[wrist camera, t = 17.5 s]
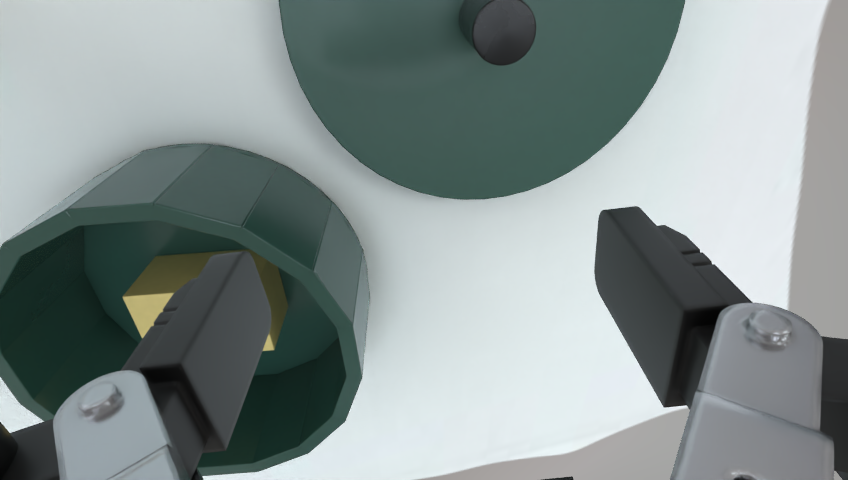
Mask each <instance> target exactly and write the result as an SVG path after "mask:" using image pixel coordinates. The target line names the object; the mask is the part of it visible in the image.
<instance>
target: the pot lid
mask: <svg viewBox="0 0 848 480" xmlns="http://www.w3.org/2000/svg"><path fill="white" fill-rule="evenodd" d="M684 4H685V0H279V6H280V13H281V20H282V28H283V34H284V38H285V42H286V45H287V49H288V53H289V57H290V60H291V63H292V66H293V68H294V71H295V73H296V76H297V78H298V81H299V84H300V86H301V88H302V90H303V92H304V93H305V95H306V97H307V99H308V101H309V103H310V105H311V107H312V108H313V110H314V111H315V113H316V114H317V115H318V117H319V118H320V120H321V121H322V123H323V124H324V125H325V127H326V128H327V130H328V131H329V132H330V133H331V134H332V135H333V136H334V137H335V138H336V140H337V141H338V142H339V143H340V144H341V145H342V146H343V147H344V148H345V149H346V150H347V151H348V152H350V153H351V154H352V155H353V156H354V157H355V158H356V159H358V160H359V161H360V162H361V163H363V164H364V165H366V166H367V167H369V168H370V169H372V170H373V171H374V172H376V173H377V174H379V175H381V176H383V177H385V178H387V179H389V180H391V181H393V182H394V183H396V184H398V185H401V186H404V187H406V188H409V189H412V190H415V191H417V192H420V193H425V194H429V195H433V196H438V197H443V198H453V199H489V198H496V197H504V196H509V195H513V194H516V193H520V192H524V191H528V190H531V189H533V188H536V187H538V186H541V185H544V184H546V183H549V182H551V181H553V180H555V179H557V178H559V177H560V176H562V175H564V174H566V173H568V172H570V171H571V170H573V169H574V168H576V167H577V166H579V165H581V164H582V163H584V162H585V161H587V160H588V159H589V158H591V157H592V156H593V155H594V154H595V153H597V152H598V151H599V150H600V149H602V148H603V147H604V146H605V145H606V144H608V142H609V141H610V140H611V139H612V138H613V137H614V136H615V135H616V134H617V133H618V132H619V131H620V130H621V129H622V128H623V127H624V126H625V125H626V124H627V122H628V121H629V120H630V119H631V117H632V116H633V115H634V114H635V112H636V111H637V110H638V109H639V107H640V106H641V105H642V103H643V101H644V100H645V98H646V97H647V95H648V94H649V92H650V90H651V89H652V87H653V86H654V84H655V83H656V81H657V78H658V76H659V74H660V72H661V70H662V68H663V66H664V64H665V62H666V60H667V58H668V56H669V53H670V50H671V48H672V45H673V42H674V40H675V37H676V34H677V31H678V27H679V23H680V19H681V15H682V11H683V8H684Z"/></svg>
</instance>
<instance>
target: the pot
mask: <svg viewBox="0 0 848 480" xmlns="http://www.w3.org/2000/svg"><path fill="white" fill-rule="evenodd" d="M244 249H250V250H251V251H253V252H255V253H256V254H258V255H260V256H261V257H263V258H264V259H266V260H268V261H269V262H271V263H272V264H274V265H276V266H277V267H278V269H279V273H280V277H281V280H282V284H283V288H284V292H285V296H286V299H287V303H288V309H287V312H286V315H285V318H284V321H283V325H282V328H281V331H280V334H279V337H278V340H277V343H276V346H275V349H274V350H269V351H262V354H261V356H260V359H259V362H258V364H257V367H256V370H255V373H254V375H253V378H252V381H251V384H250V386H249V389H248V392H247V395H246V397H245V400H244V403H243V406H242V408H241V411H240V414H239V417H238V419H237V422H236V425H235V427H234V430H233V433H232V436H231V438H230V441H229V444H228V447H227V449H226V451H219V452H209V453H202V455H201V458H200V460H199V462H198V465H197V468H198V470H199V472H200V473H201V475H202V476H209V475H222V474H235V473H248V472H257V471H258V472H259V471H261V470H264V469H267V468H270V467H272V466H275V465H278V464H281V463H283V462H286V461H289V460H291V459H294V458H297V457H300V456H302V455H305V454H308V453H309V452H311V451H312V450H313V449H314V448H315V447H316V446H317V445H319V444H320V443H321V442H322V441H323V440H324V439H325V438H327V437H328V436H329V435H330V434H331V433H332V432H334V431H335V430H336V429H337V428H338V427H339V426H340V425H342V424H343V423H344V422H345V421H346V418H347V416H348V413H349V411H350V408H351V405H352V403H353V400H354V398H355V395H356V392H357V390H358V387H359V384H360V382H361V379H362V374H363V363H364V352H365V341H366V330H367V320H368V309H369V298H370V293H369V286H368V275H367V266H366V262H365V257H364V253H363V249H362V247H361V245H360V243H359V240H358V238H357V236H356V234H355V232H354V230H353V229H352V227H351V225H350V223H349V222H348V220H347V219H346V218H345V216H344V215H343V214H342V212H341V211H340V210H339V208H338V207H337V206H336V205H335V204H334V203H333V202H332V201H331V200H330V199H329V198H328V197H327V196H326V195H325V194H324V193H323V192H322V191H321V190H320V189H318V188H317V187H316V186H315V185H313V184H312V183H311V182H310V181H308V180H307V179H305V178H304V177H302V176H301V175H299V174H298V173H296V172H294V171H293V170H291V169H290V168H288V167H286V166H284V165H281V164H279V163H277V162H275V161H273V160H271V159H269V158H266V157H263V156H260V155H258V154H255V153H252V152H249V151H245V150H241V149H236V148H232V147H228V146H220V145H211V144H178V145H171V146H164V147H159V148H156V149H150V150H145V151H142V152H140V153H138V154H136V155H135V156H133V157H130V158H128V159H126V160H124V161H122V162H121V163H119V164H118V165H116V166H115V167H113V168H111V169H109V170H107V171H106V172H104V173H102V174H100V175H98V176H96V177H95V178H93V179H92V180H91V181H89V182H88V183H86V184H85V185H84V186H82V187H81V188H79V189H78V190H77V191H75V192H74V193H72V194H71V195H70V196H68V197H67V198H66V199H64V200H63V201H61V202H60V203H59V204H57V205H56V206H54V207H53V208H52V209H50V210H49V211H47V212H46V213H45V214H43V215H42V216H40V217H39V218H38V219H36V220H35V221H33V222H32V223H31V224H29V225H28V226H27V227H25V228H24V229H22V230H21V231H20V232H18V233H17V234H15V235H14V236H13V237H11V238H10V239H8V240H7V241H6V242H5V243H4V244H2V246H1V248H0V377H1V378H2V380H3V381H4V383H5V384H6V385H7V387H8V388H9V389H10V391H11V392H12V394H13V395H14V396H15V398H16V399H17V401H18V402H19V403H20V404H21V405H22V406H24V407H25V408H27V409H28V410H29V411H31V412H32V413H33V414H35V415H36V416H38V417H39V418H40V419H42V420H43V421H48V420H51V419H54V417H55V415H56V413H57V411H58V409H59V408H60V407H61V405H62V404H63V403H64V402H65V401H66V400H67V398H69V397H70V396H71V395H72V394H73V393H74V392H76V391H77V390H78V389H79V388H81V387H82V386H84V385H86V384H87V383H89V382H91V381H93V380H94V379H97V378H99V377H101V376H103V375H106V374H109V373H113V372H117V371H120V370H121V369H122V368H123V366H124V365H125V363H126V362H127V360H128V359H129V357H130V356H131V355H132V353H133V352H134V350H135V349H136V347H137V346H138V344H139V343H140V341H141V340H142V337H141V335H140V333H139V331H138V329H137V327H136V324H135V322H134V320H133V318H132V316H131V314H130V312H129V310H128V308H127V306H126V304H125V302H124V300H123V295H124V294H125V293H126V292H127V291H128V289H129V288H130V287H131V286H132V284H133V283H134V282H135V281H136V280H137V278H138V277H139V276H140V275H141V273H142V272H143V271H144V270H145V269H146V267H147V266H148V265H149V264H150V263H151V261H152V260H153V259H154V258H155V257H156V256H165V255H178V254H191V253H205V252H218V251H231V250H244Z"/></svg>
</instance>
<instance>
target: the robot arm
mask: <svg viewBox="0 0 848 480" xmlns="http://www.w3.org/2000/svg"><path fill="white" fill-rule="evenodd" d="M595 281H596V285H597V289H598V292H599V294H600V296H601V298H602V300H603V301H604V303H605V305H606V307H607V308H608V310H609V312H610V314H611V315H612V317H613V319H614V321H615V322H616V324H617V326H618V328H619V329H620V331H621V333H622V335H623V336H624V338H625V340H626V342H627V344H628V345H629V347H630V349H631V351H632V352H633V354H634V356H635V358H636V359H637V361H638V363H639V365H640V366H641V368H642V370H643V372H644V373H645V375H646V377H647V379H648V380H649V382H650V384H651V386H652V387H653V389H654V391H655V393H656V394H657V396H658V398H659V400H660V401H661V403H662V405H663V407H674V406H684V405H687V406H688V408H689V409H690V412H689V416H688V419H687V423H686V426H685V430H684V433H683V436H682V440H681V443H680V447H679V450H678V454H677V457H676V461H675V464H674V468H673V471H672V474H671V478H670V480H834V471H836V472H837V473H838V474H839V476H840V477H841V478H842V479H843V480H848V339H839V338H829V337H822V336H820V334H819V333H818V331H817V330H816V329H815V328H814V327H813V326H812V325H811V324H810V323H809V322H807V321H806V320H805V319H803V318H801V317H800V316H798V315H796V314H794V313H792V312H790V311H787V310H785V309H782V308H779V307H775V306H772V305H767V304H760V303H752V302H751V301H750V300H749V299H748V298H747V297H746V296H745V295H744V294H743V293H742V292H741V291H740V290H739V289H738V288H737V287H736V286H735V285H734V284H733V283H732V282H731V281H730V280H729V279H728V278H727V277H726V276H725V275H724V274H723V273H722V272H721V271H720V270H719V269H718V268H717V267H716V266H715V265H712V263H711V261H710V259H709V258H708V257H707V256H706V255H705V254H704V253H700V249H699V248H698V247H697V246H696V245H695V244H694V243H693V242H692V241H691V240H690V239H689V238H688V237H687V236H685V235H683V234H681V233H679V232H677V231H675V230H673V229H671V228H669V227H667V226H665V225H661V226H656V225H655V224H654V223H653V222H652V220H651V219H650V218H649V217H648V216H647V215H646V214H645V213H644V212H643V211H642V210H641V209H640V208H639V207H637V206H635V207H626V208H617V209H609V210H603V211H601V213H600V215H599V220H598V231H597V244H596V256H595ZM270 328H271V309H270V304H269V301H268V298H267V296H266V293H265V290H264V287H263V284H262V282H261V279H260V276H259V273H258V270H257V268H256V265H255V262H254V259H253V257H252V255H251V254H250V253H249V252H248V251H240V252H232V253H223V254H215V255H212V256H211V257H210V259H209V260H208V262H207V263H206V265H205V267H204V268H203V270H202V271H201V273H200V274H199V276H198V277H197V278H192V279H191V280H190V281H188V282H187V283H186V284H185V285H183V286H182V287H181V288H180V289H178V290H177V291H176V292H175V293H174V294H173V295H172V297H171V298H170V299H169V301H168V302H167V304H166V305H165V307H164V308H163V312H161V313H160V314H159V315H158V317H157V318H156V320H155V321H154V326H151V327H150V328H149V330H148V331H147V333H146V334H145V336H144V337H143V339H142V340H141V341H140V343H139V344H138V346H137V347H136V349H135V350H134V352H133V353H132V355H131V356H130V357H129V359H128V360H127V362H126V363H125V365H124V366H123V368H122V369H121V370H120V371H117V372H113V373H109V374H106V375H103V376H101V377H99V378H97V379H94V380H93V381H91V382H89V383H87V384H86V385H84V386H82V387H81V388H79V389H78V390H77V391H76V392H74V393H73V394H72V395H71V396H70V397H69V398H67V400H66V401H65V402H64V403H63V404H62V405H61V407H60V408H59V409H58V411H57V413H56V415H55V417H54V419H51V420H48V421H45V422H42V423H39V424H36V425H33V426H30V427H27V428H24V429H21V430H18V431H15V432H12V433H9V432H8V431H7V429H6V428H5V427H4V426H3V425H2V424H1V422H0V480H203V477H202V475H201V473H200V472H199V470H198V468H197V465H198V462H199V460H200V458H201V455H202V453H209V452H219V451H226V449H227V447H228V444H229V441H230V438H231V436H232V433H233V430H234V427H235V425H236V422H237V419H238V417H239V414H240V411H241V408H242V406H243V403H244V400H245V397H246V395H247V392H248V389H249V386H250V384H251V381H252V378H253V375H254V373H255V370H256V367H257V364H258V362H259V359H260V356H261V354H262V351H263V348H264V345H265V343H266V340H267V337H268V334H269V332H270ZM545 480H573V477H564V478H555V479H554V478H553V479H545Z"/></svg>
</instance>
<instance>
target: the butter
mask: <svg viewBox="0 0 848 480" xmlns="http://www.w3.org/2000/svg"><path fill="white" fill-rule="evenodd" d="M240 251H248V252H249V253H250V254H251V255H252V257H253V259H254V262H255V265H256V268H257V270H258V273H259V276H260V279H261V282H262V284H263V287H264V290H265V293H266V296H267V298H268V301H269V304H270V309H271V328H270V332H269V334H268V337H267V340H266V343H265V345H264V348H263V351H269V350H274V349H275V346H276V343H277V340H278V337H279V334H280V331H281V328H282V325H283V321H284V318H285V315H286V312H287V309H288V303H287V299H286V296H285V292H284V288H283V284H282V280H281V277H280V273H279V269H278V267H277V266H276V265H274V264H272V263H271V262H269V261H268V260H266V259H264V258H263V257H261V256H260V255H258V254H256V253H255V252H253V251H251V250H250V249H244V250H231V251H218V252H205V253H191V254H178V255H165V256H156V257H155V258H154V259H153V260H152V261H151V263H150V264H149V265H148V266H147V267H146V269H145V270H144V271H143V272H142V273H141V275H140V276H139V277H138V278H137V280H136V281H135V282H134V283H133V284H132V286H131V287H130V288H129V289H128V291H127V292H126V293H125V294H124V295H123V300H124V302H125V304H126V306H127V308H128V310H129V312H130V314H131V316H132V318H133V320H134V322H135V324H136V327H137V329H138V331H139V333H140V335H141V337H142V339H143V337H144V336H145V334H146V333H147V331H148V330H149V328H150V327H151V326H154V321H155V320H156V318H157V317H158V315H159V314H160V313H161V312H163V308H164V307H165V305H166V304H167V302H168V301H169V299H170V298H171V297H172V295H173V294H174V293H175V292H176V291H177V290H178V289H180V288H181V287H182V286H183V285H185V284H186V283H187V282H188V281H190V280H191V279H192V278H197V277H198V276H199V274H200V273H201V271H202V270H203V268H204V267H205V265H206V263H207V262H208V260H209V259H210V257H211V256H212V255H215V254H223V253H232V252H240Z"/></svg>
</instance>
